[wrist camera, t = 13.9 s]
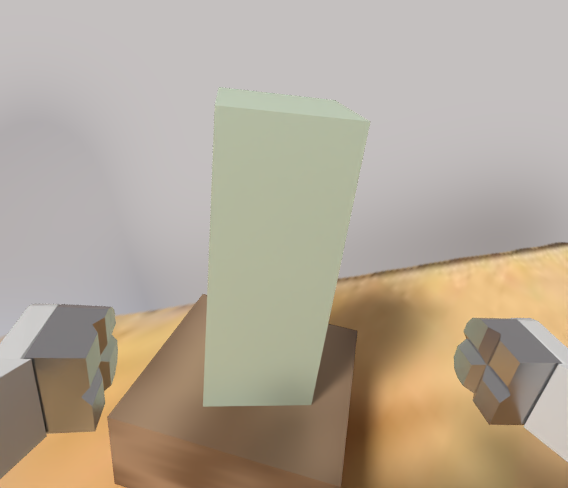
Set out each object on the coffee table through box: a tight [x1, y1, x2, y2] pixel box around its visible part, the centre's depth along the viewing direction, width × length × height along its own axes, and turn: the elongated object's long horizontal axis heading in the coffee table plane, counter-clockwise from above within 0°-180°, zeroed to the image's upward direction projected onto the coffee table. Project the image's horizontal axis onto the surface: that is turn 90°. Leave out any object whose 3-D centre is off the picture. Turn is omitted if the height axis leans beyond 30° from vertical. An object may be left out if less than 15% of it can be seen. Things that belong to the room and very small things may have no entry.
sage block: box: [203, 87, 370, 407], centre depth 18 cm, size 5×5×13 cm
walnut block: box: [107, 294, 357, 488], centre depth 22 cm, size 10×10×4 cm
